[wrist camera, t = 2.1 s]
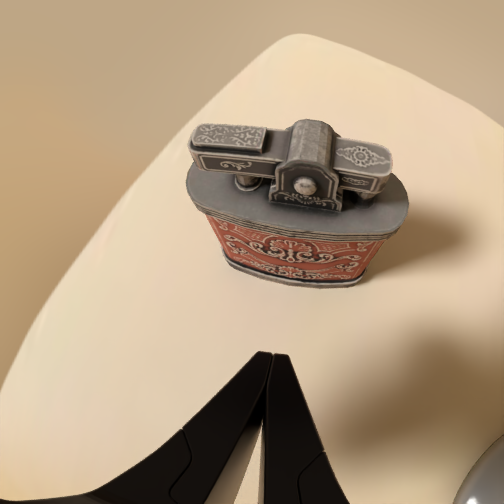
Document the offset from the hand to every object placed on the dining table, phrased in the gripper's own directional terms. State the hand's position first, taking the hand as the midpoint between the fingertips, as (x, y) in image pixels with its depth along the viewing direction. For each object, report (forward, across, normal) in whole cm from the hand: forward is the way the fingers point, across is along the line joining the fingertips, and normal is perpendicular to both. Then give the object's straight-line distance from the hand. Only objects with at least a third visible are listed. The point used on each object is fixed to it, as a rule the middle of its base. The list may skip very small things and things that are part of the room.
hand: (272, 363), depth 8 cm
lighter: (+10, 0, +2) cm, 10 cm away
